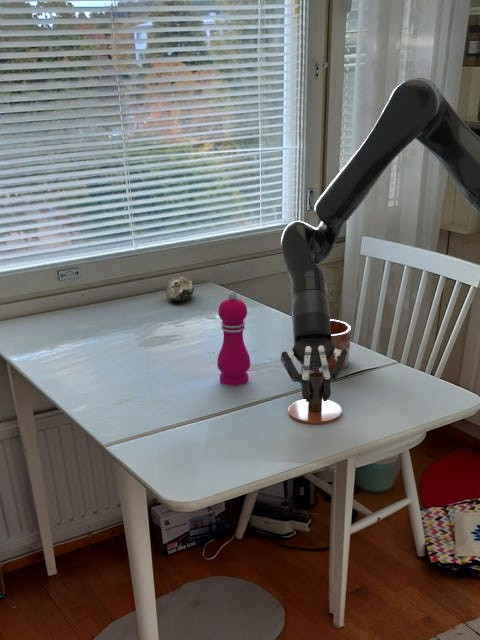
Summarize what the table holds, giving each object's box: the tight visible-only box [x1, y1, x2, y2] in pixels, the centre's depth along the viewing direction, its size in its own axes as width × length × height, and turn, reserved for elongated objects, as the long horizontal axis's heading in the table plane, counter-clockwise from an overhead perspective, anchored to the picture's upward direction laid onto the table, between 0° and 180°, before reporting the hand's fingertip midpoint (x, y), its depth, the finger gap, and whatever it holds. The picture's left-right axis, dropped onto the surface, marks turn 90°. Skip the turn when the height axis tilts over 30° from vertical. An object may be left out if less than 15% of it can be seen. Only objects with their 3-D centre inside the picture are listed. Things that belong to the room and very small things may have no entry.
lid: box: [287, 371, 343, 425], centre depth 156 cm, size 11×11×9 cm
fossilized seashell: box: [164, 276, 195, 302], centre depth 218 cm, size 8×7×10 cm
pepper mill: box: [216, 290, 251, 387], centre depth 167 cm, size 7×7×20 cm
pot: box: [309, 319, 352, 373], centre depth 178 cm, size 10×10×8 cm
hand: (317, 400), depth 154 cm, fingers closed on lid, 3 cm apart
